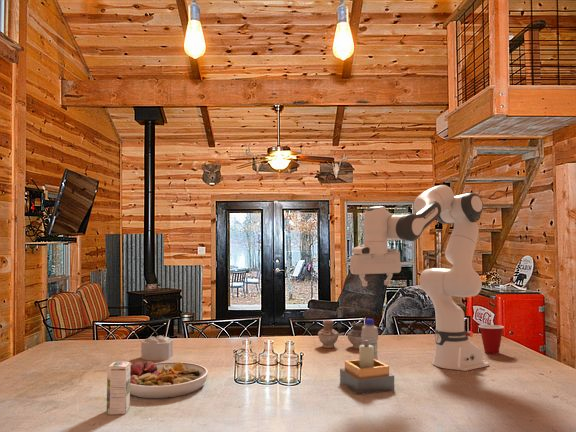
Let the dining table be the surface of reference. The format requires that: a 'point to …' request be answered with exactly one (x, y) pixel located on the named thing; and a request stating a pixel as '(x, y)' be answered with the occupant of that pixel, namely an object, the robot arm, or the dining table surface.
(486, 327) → the plastic cup
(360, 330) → the pottery
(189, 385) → the bowl
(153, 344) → the white lumpy-lid tub
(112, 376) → the syrup box
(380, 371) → the tan and grey box
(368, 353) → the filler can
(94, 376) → the dining table surface
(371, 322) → the bottle
